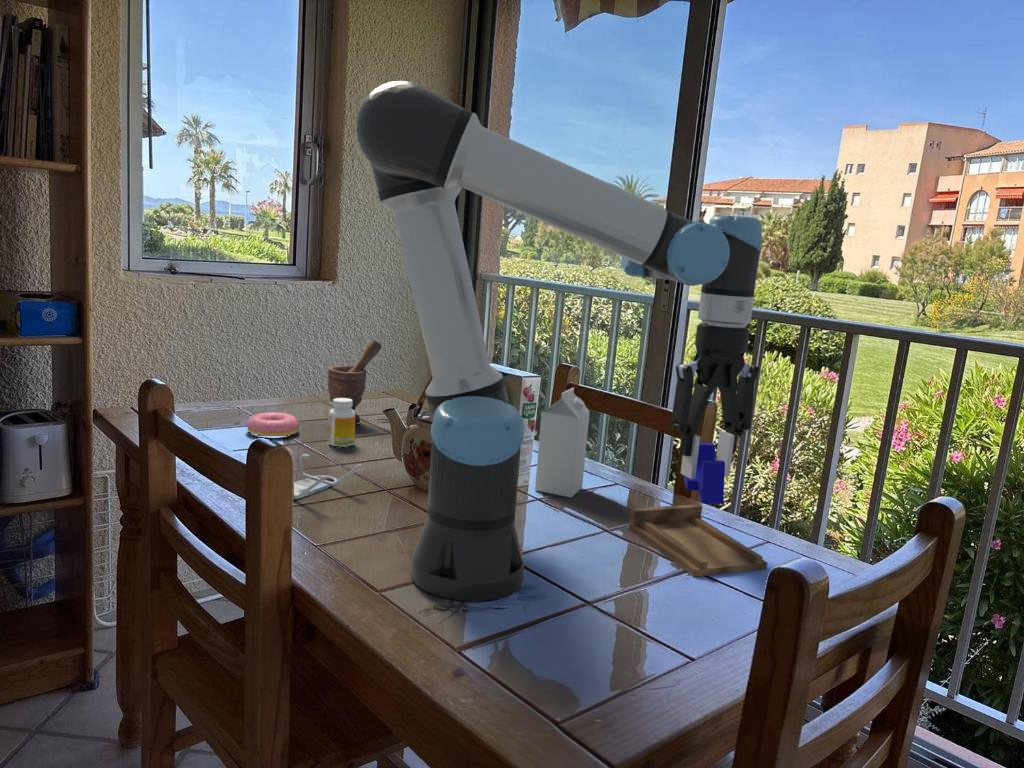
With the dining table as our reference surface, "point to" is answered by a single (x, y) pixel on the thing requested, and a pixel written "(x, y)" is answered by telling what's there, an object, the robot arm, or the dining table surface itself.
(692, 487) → the blue stepped block
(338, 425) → the supplement bottle
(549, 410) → the milk carton
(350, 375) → the mortar and pestle
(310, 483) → the wall mount rack
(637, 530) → the tray
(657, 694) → the dining table surface
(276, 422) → the doughnut
